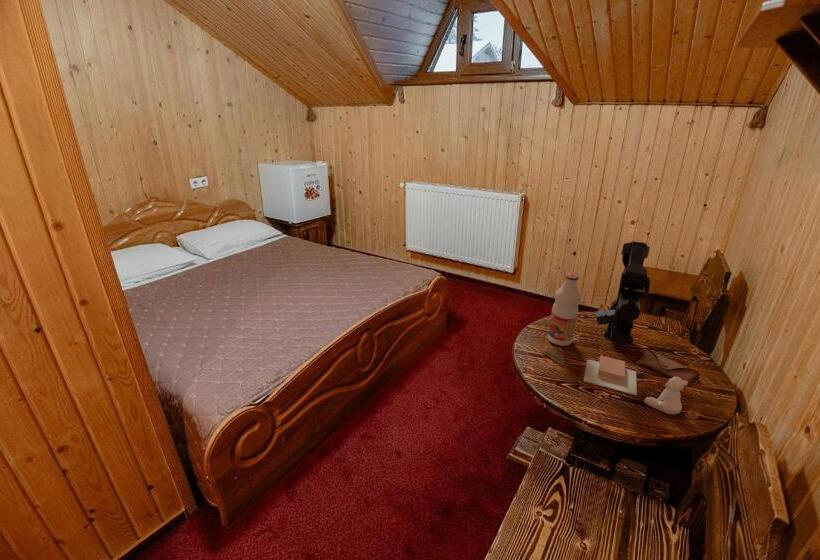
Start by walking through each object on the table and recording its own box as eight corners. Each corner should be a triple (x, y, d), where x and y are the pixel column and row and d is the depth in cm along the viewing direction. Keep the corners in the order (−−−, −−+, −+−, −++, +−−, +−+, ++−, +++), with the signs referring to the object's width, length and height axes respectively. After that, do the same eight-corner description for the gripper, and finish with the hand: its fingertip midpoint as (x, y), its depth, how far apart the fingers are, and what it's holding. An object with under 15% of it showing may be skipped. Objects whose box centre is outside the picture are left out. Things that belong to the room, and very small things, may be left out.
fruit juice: (575, 346, 156) (589, 280, 145) (550, 345, 156) (562, 279, 145) (567, 334, 164) (580, 270, 153) (544, 333, 165) (555, 270, 154)
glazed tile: (600, 355, 146) (598, 369, 137) (625, 361, 142) (624, 376, 134) (599, 361, 147) (597, 375, 138) (623, 367, 143) (623, 382, 135)
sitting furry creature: (665, 396, 130) (675, 364, 125) (689, 413, 122) (701, 381, 118) (642, 401, 127) (651, 370, 122) (665, 420, 120) (677, 387, 115)
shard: (564, 368, 144) (564, 363, 143) (541, 364, 146) (542, 359, 145) (563, 352, 153) (563, 348, 153) (542, 348, 155) (542, 344, 155)
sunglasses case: (634, 362, 147) (642, 346, 146) (639, 365, 151) (647, 349, 151) (688, 388, 133) (698, 370, 133) (692, 390, 138) (701, 373, 138)
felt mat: (586, 360, 148) (587, 359, 147) (635, 372, 141) (636, 371, 141) (583, 381, 136) (583, 380, 136) (636, 395, 130) (636, 394, 129)
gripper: (601, 291, 142) (593, 330, 148) (598, 313, 126) (588, 355, 133) (637, 298, 137) (626, 337, 144) (638, 321, 122) (626, 365, 128)
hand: (616, 348), depth 137 cm, fingers closed
